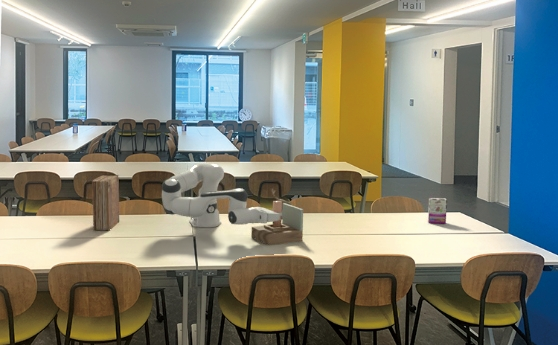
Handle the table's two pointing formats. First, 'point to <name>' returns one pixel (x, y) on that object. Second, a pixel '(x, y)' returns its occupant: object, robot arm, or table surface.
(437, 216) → the candy bar box
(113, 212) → the book
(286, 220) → the display plinth
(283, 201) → the brown figurine
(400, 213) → the table surface
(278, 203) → the light brown tall block
